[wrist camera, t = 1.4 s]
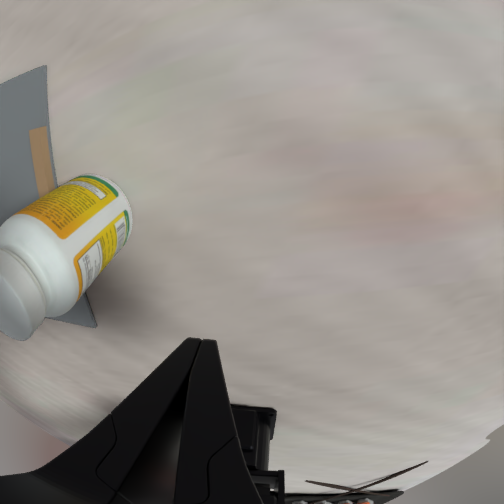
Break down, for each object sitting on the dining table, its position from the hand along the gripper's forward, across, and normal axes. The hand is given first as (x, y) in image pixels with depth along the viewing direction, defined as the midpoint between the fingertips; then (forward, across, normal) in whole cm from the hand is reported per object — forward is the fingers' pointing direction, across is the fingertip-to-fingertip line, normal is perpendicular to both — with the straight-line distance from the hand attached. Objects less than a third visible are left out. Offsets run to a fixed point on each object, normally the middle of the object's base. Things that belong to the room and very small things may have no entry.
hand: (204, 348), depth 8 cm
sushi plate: (+11, -21, +54) cm, 59 cm away
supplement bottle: (+10, +9, 0) cm, 13 cm away
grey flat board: (+10, +16, 0) cm, 19 cm away
